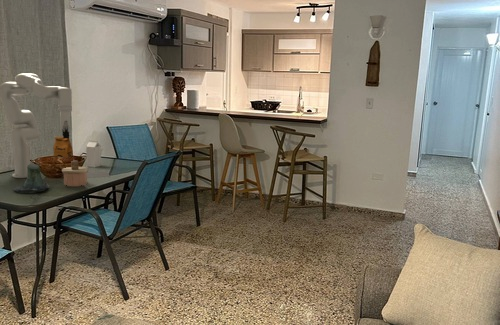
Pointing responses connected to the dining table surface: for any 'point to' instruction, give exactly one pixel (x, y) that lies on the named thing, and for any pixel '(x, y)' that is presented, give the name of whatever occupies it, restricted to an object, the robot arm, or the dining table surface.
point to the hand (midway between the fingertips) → (65, 136)
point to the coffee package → (62, 147)
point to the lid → (74, 168)
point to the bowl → (75, 179)
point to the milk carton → (93, 154)
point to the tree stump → (32, 181)
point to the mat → (97, 174)
